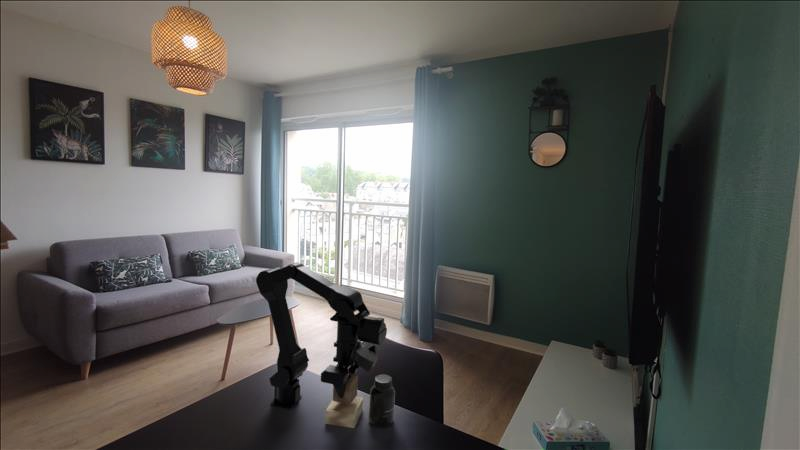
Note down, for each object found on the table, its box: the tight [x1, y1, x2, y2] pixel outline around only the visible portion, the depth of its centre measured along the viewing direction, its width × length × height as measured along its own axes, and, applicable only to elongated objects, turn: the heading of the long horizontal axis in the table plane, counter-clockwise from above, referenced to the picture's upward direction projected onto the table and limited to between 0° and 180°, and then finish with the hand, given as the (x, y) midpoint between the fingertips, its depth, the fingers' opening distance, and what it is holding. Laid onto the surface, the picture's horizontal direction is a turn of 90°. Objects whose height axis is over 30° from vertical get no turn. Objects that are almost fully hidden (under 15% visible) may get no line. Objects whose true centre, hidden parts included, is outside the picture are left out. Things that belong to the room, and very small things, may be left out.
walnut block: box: [332, 373, 359, 405], centre depth 98 cm, size 5×5×6 cm
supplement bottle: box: [368, 374, 396, 428], centre depth 98 cm, size 7×7×12 cm
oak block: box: [325, 396, 364, 429], centre depth 99 cm, size 8×8×4 cm
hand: (345, 392), depth 99 cm, fingers closed on walnut block, 5 cm apart
